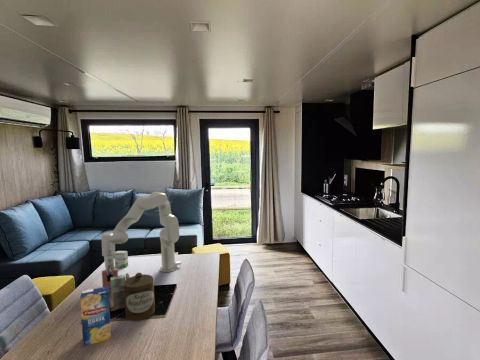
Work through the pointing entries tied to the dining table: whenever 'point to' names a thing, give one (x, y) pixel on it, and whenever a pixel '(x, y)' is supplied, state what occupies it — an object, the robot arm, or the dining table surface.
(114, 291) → the shelf
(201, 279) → the dining table surface
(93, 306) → the beverage box
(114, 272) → the salmon red block
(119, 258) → the ink box
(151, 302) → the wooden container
